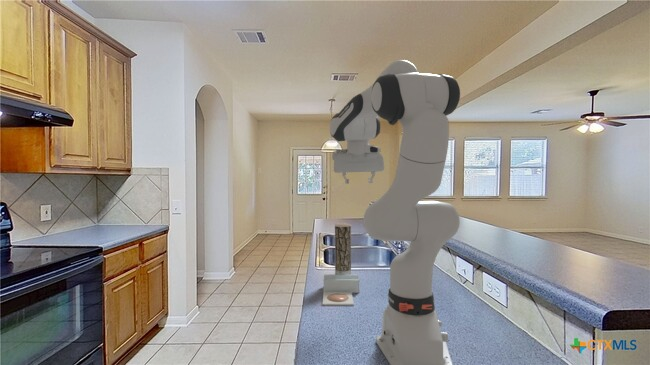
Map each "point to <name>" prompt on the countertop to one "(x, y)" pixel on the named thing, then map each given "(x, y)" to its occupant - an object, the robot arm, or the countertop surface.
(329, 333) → the countertop surface
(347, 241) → the wooden log
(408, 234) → the robot arm
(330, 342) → the countertop surface
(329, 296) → the resting pad
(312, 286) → the countertop surface
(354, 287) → the low walls
